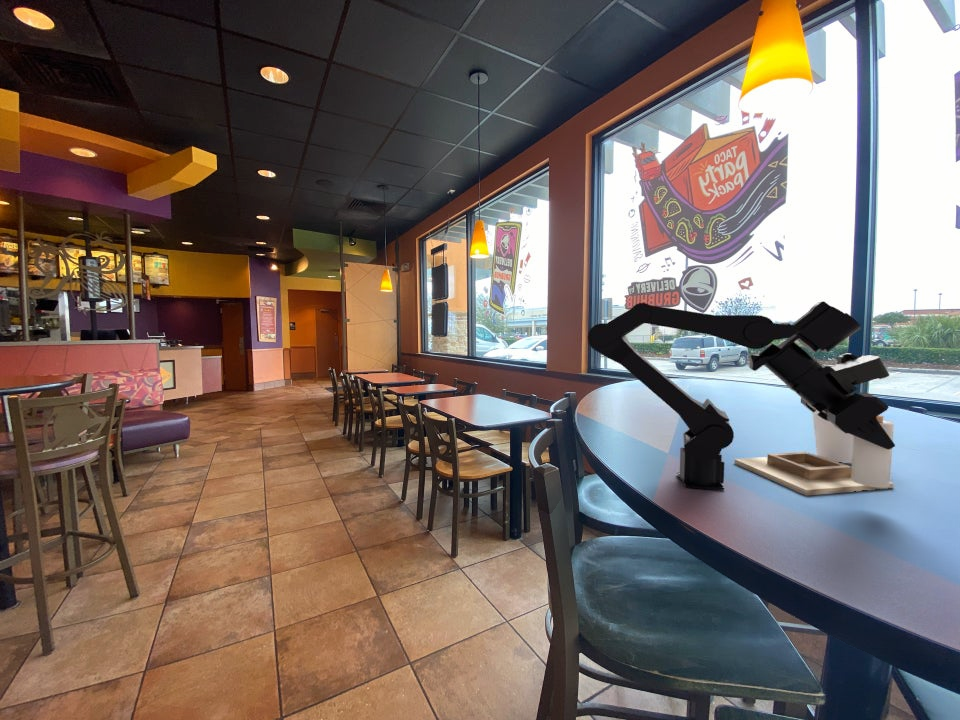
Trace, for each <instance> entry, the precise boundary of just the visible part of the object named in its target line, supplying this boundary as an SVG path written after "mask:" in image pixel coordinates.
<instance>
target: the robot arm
mask: <svg viewBox="0 0 960 720" xmlns="http://www.w3.org/2000/svg"><path fill="white" fill-rule="evenodd" d="M644 324H648V325H654V326H661V327H664V328H669V329H670V328H671V329H676V330H683V331H688V332H693V333H700V334H704V335H709V336H712V337H716V338H718V339H722V340H724V341H726V342H730V343H733V344H736V345H739V346H741V347H745V348H748V349H751V350H758V349H762V348H764V349H763V350H762V351H760V352H759V353H758V354H752V353H751V354H750V353H749V354H748V357H749V358H748V359H749V365H748V368H749V369H751V371H756V372H757V370H759V369H760V368H762V367H763V366H764V367H766V369H768V370H769V372H771V373H773V375H775V376H776V377H777V378H778V379H780V380H781V381H782V382H783V384H785V385H786V387H787V388H789V389H790V391H792V392H795V394H796V395H798V396H799V397H800V404H802V405H803V407H805V408H806V409H808V410H809V411H811V412H815V411H816V410H817V411H818V412H819V413H818V416H819V417H821V418H823V419H825V420H827V421H829V422H831V423H832V424H833V425H834V426H835V427H836V428H838V429H839V430H841V431H843V432H844V433H849V434H852V435H854V436H856V437H859V438H861V439H864V440H866V441H869V442H871V443H873V444H876V445H878V446H881V447H883V448H885V449H888V450H889V449H891V448H892V449H893V448H894V447H896V444H895V443H894V440H893V441H892V440H891V439H890V437H889V436H888V434H887V433H886V432H885V430H884V429H883V427H882V426H881V425H880V423H879V422H878V420H877V418H876V417H877V416H878V415H882V414H883V413H885V412H886V411H888V409H889V407H890V406H889V405H888V404H887V403H885V402H883V401H882V399H880V398H879V397H878V396H876V395H873V394H869V393H867V392H866V393H865V392H856V391H857V390H858V387H857V386H856V385H860V384H865V383H867V382H870V381H874V380H877V379H879V380H881V379H885V378H888V377H890V373H889V371H888V369H887V367H886V366H885V364H884V362H883V361H882V359H881V357H880V356H876V355H870V354H869V355H861V356H860V357H858V356H856V355H855V354H853V353H851V352H849V353H848V352H847V353H843V354H840V355H839V356H837V360H836V361H837V363H836V364H834V365H833V366H830V365H824V364H823V363H821V362H820V361H818V360H816V359H815V358H814V357H813V356H812V355H810V354H809V353H808V352H807V351H806V350H805V349H803V348H802V347H801V346H800V345H802V346H803V347H804V348H806V349H807V350H809V351H810V352H811V353H814V354H816V353H817V352H819V351H821V352H823V353H828V352H830V351H831V350H833V349H834V348H836V347H837V346H838V345H839V344H841V343H843V342H844V341H845V340H847V339H849V337H851V336H852V335H853V334H855V333H856V332H858V331H859V330H861V329H862V326H861V324H860V323H859V322H858V321H857V320H856V319H855V318H854V317H853V316H851V315H850V314H849V313H847V312H843V311H842V310H840V309H838V308H837V307H834V306H832V305H829V304H828V302H826V301H818V302H817V303H815V304H814V305H812V307H811V308H810V309H809V310H808V311H807V312H806V313H804V314H803V315H802V316H800V317H799V318H798V319H797V320H795V321H794V322H793V323H792V324H791V323H790V322H781V323H774V322H773V321H772V319H771V318H769V317H768V316H764V315H756V314H755V315H754V314H753V315H752V314H737V315H736V314H735V315H733V314H727V315H724V314H723V315H721V314H718V315H716V314H710V313H709V314H708V313H702V312H696V311H689V310H683V309H678V308H676V309H675V308H670V307H664V306H657V305H652V304H649V303H647V302H639V303H636V304H634V306H632V308H630V309H628V310H627V311H625V312H623V313H622V314H620V315H617V317H615V318H613V319H612V320H610V321H609V322H607V323H606V322H601V323H597V324H595V325H593V326H592V327H591V328H590V329H589V330H588V334H587V343H588V344H589V347H591V349H592V350H594V351H596V352H597V353H599V354H601V355H602V356H603V357H606V358H607V359H609V360H611V361H613V362H615V363H618V364H619V365H621V366H622V367H623V368H625V370H627V371H628V372H630V373H631V375H633V376H634V377H635V378H636V379H637V380H639V382H641V383H642V384H643V385H644V386H645V387H646V388H648V389H649V390H650V391H651V392H652V393H654V394H655V395H656V396H657V397H658V398H659V399H661V401H662V402H664V403H665V404H666V405H667V406H669V407H670V408H671V409H672V410H673V411H675V413H676V414H677V415H679V417H680V419H682V421H683V422H684V424H685V425H686V426H687V428H688V430H686V431H684V433H682V437H683V447H680V448H679V449H680V451H679V453H680V454H679V455H680V456H679V472H676V475H677V474H678V473H680V474H678V476H679V477H680V479H681V480H682V481H681V480H680V479H679V480H680V481H681V482H683V483H684V484H685V485H684V484H683V483H682V484H683V485H684V487H685V486H687V487H686V488H688V487H691V488H690V489H700V490H701V489H703V490H714V491H715V490H716V491H724V490H725V486H724V485H723V484H724V483H725V482H724V481H725V461H723V460H722V458H723V455H722V453H721V451H722V450H723V449H726V448H728V447H730V445H731V444H732V443H733V441H734V438H735V434H734V430H733V428H732V426H731V424H730V418H729V416H728V415H727V413H726V411H724V410H721V409H720V408H718V407H716V405H715V404H714V403H713V402H712V401H711V400H710V399H709V398H706V399H705V401H704V402H703V403H702V402H701V401H698V400H697V399H695V398H693V397H692V396H691V395H689V394H688V393H687V392H685V390H683V389H682V388H681V387H680V386H678V384H676V383H675V382H674V381H672V380H671V379H670V378H669V377H668V376H667V375H666V374H665V373H663V372H662V371H661V370H659V369H658V368H657V367H656V366H655V365H654V364H652V363H651V362H650V361H648V360H647V359H646V358H645V357H644V356H643V355H642V354H640V353H639V352H638V351H637V350H636V349H635V348H634V346H633V345H632V344H631V342H630V341H629V339H628V338H627V337H626V336H627V335H628V334H630V333H631V332H633V331H634V330H635V329H638V328H639V327H641V326H642V325H644ZM783 339H785V340H784V341H782V342H781V343H780V344H778V345H775V344H774V343H772V342H773V341H776V340H783ZM796 341H797V342H798V343H799V344H800V345H799V344H798V343H796ZM678 476H677V477H678ZM679 477H678V478H679Z"/></svg>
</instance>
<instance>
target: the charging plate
mask: <svg viewBox="0 0 960 720" xmlns="http://www.w3.org/2000/svg"><path fill="white" fill-rule="evenodd" d="M734 465H737V466H738V467H742V468H744V469H746V470H748V471H751V472H753V473H755V474H757V475H759V476H761V477H764V478H765V479H768V480H771V481H772V482H775V483H777V484H780V485H782V486H784V487H786V488H789V489H790V490H793V491H795V492H798V493H800V494H802V495H804V496H816V495H817V496H818V495H829V494H841V493H842V494H844V493H852V492H853V493H854V491H856V492H863V491H862V490H868V491H876V490H875V489H880V490H889V489H888V488H892V489H894V486H895V485H894V482H893V481H892V482H891V481H890V484H889V487H888V488H877V487H870V486H866V485H862V484H859V483H856V482H854V481H852V480H851V466H850V465H847V464H845V463H839V462H835V461H832V460H829V459H826V458H823V457H820V456H817V454H814V453H811V452H809V451H808V452H807V451H796V452H795V451H794V452H782V453H781V452H780V453H767V456H762V457H759V456H758V457H745V458H744V457H743V458H734Z"/></svg>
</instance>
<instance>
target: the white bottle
mask: <svg viewBox="0 0 960 720" xmlns="http://www.w3.org/2000/svg"><path fill="white" fill-rule="evenodd" d="M876 418H877V420H878V422H879V423H880V425H881V426H882V427H883V429H884V430H885V432H886V433H887V434H888V436H889V437H890V439H891V440H892V441H893V442H894V433H895V432H894V431H895V423H894V422H891V421H888V420H884V416H883V415H882V414H880V415H878V416H877V417H876ZM892 457H893V448H891V449H889V450H888V449H885V448H883V447H881V446H878V445H876V444H873V443H871V442H869V441H866V440H864V439H861V438H859V437H856V436H854V437H853V452H852V463H851V466H850V467H851V480H852V481H854V482H856V483H859V484H862V485H866V486H870V487H877V488H888V487H889V484H890V482H891V471H892V470H891V469H892Z"/></svg>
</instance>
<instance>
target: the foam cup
mask: <svg viewBox="0 0 960 720" xmlns="http://www.w3.org/2000/svg"><path fill="white" fill-rule="evenodd" d="M811 412H812V411H811ZM818 413H819V412H818V411H817V410H816V411H815V412H812V420H813V421H812V422H813V430H814V439H815V449H816V455H817V456H820V457H823V458H826V459H829V460H832V461H835V462H838V463H839V462H842V463H841V464H852V463H851V462H852V452H853V437H854V435H852V434H849V433H844V432H843V431H841V430H839V429H838V428H836V427H835V426H834V425H833V424H832V423H831V422H829V421H827V420H825V419H823V418H821V417H819V416H818Z"/></svg>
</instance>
